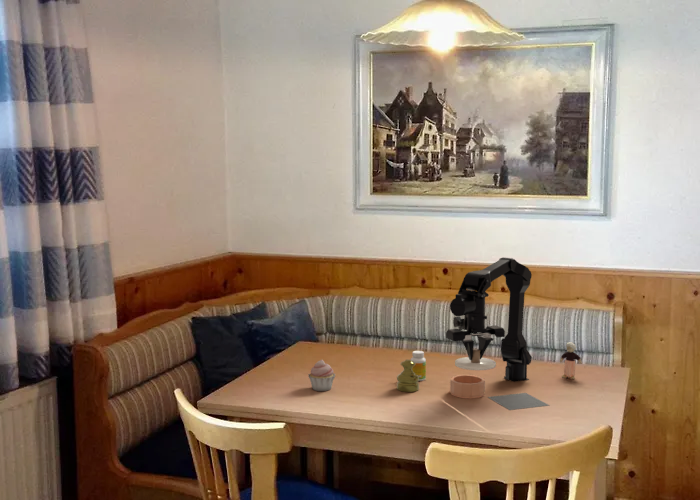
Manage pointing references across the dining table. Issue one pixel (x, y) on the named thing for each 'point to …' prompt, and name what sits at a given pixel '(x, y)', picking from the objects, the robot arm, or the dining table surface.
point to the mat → (518, 401)
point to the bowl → (467, 386)
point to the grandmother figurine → (570, 361)
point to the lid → (475, 362)
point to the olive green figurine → (408, 378)
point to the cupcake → (321, 376)
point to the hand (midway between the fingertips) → (475, 359)
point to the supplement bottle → (419, 364)
